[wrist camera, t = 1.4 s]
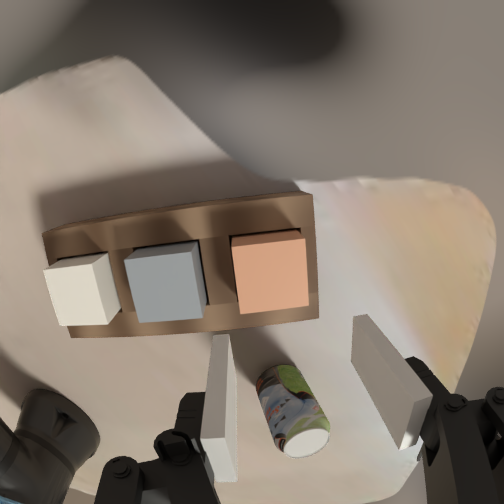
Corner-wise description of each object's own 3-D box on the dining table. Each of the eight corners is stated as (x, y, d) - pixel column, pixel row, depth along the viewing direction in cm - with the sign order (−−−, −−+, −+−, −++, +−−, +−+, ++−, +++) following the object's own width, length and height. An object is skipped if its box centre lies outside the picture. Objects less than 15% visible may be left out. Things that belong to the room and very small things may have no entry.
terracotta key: (240, 295, 29) (240, 314, 26) (232, 236, 28) (231, 247, 24) (300, 288, 29) (308, 305, 26) (296, 229, 28) (305, 238, 24)
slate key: (150, 304, 29) (139, 322, 25) (138, 248, 28) (123, 259, 24) (207, 299, 29) (202, 318, 25) (197, 240, 28) (191, 251, 24)
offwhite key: (76, 309, 29) (60, 325, 25) (63, 258, 28) (43, 270, 24) (122, 306, 29) (108, 324, 25) (108, 252, 28) (91, 263, 24)
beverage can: (252, 363, 36) (258, 434, 25) (311, 354, 36) (336, 421, 25) (257, 399, 38) (264, 468, 26) (312, 391, 38) (333, 457, 26)
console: (88, 318, 34) (71, 337, 29) (64, 224, 31) (41, 233, 26) (308, 298, 34) (318, 318, 30) (301, 190, 31) (312, 194, 26)
